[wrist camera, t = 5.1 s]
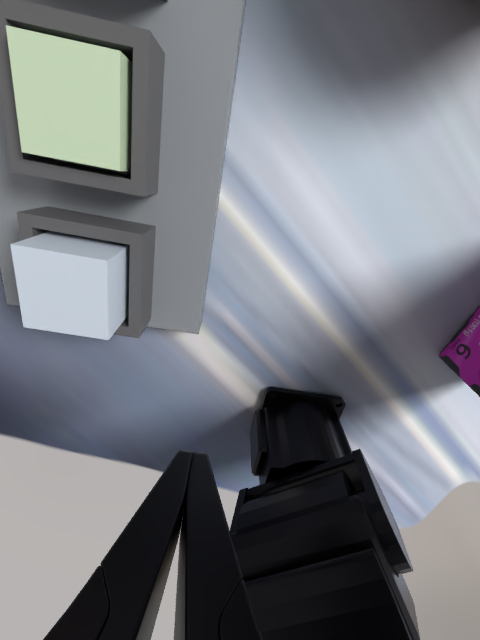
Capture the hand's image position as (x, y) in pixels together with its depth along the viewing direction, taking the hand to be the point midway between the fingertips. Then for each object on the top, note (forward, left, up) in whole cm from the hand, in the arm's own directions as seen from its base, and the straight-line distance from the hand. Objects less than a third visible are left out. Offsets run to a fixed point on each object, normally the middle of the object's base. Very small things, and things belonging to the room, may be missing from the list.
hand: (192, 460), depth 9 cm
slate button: (+7, -1, -9) cm, 12 cm away
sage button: (+7, -9, -11) cm, 16 cm away
